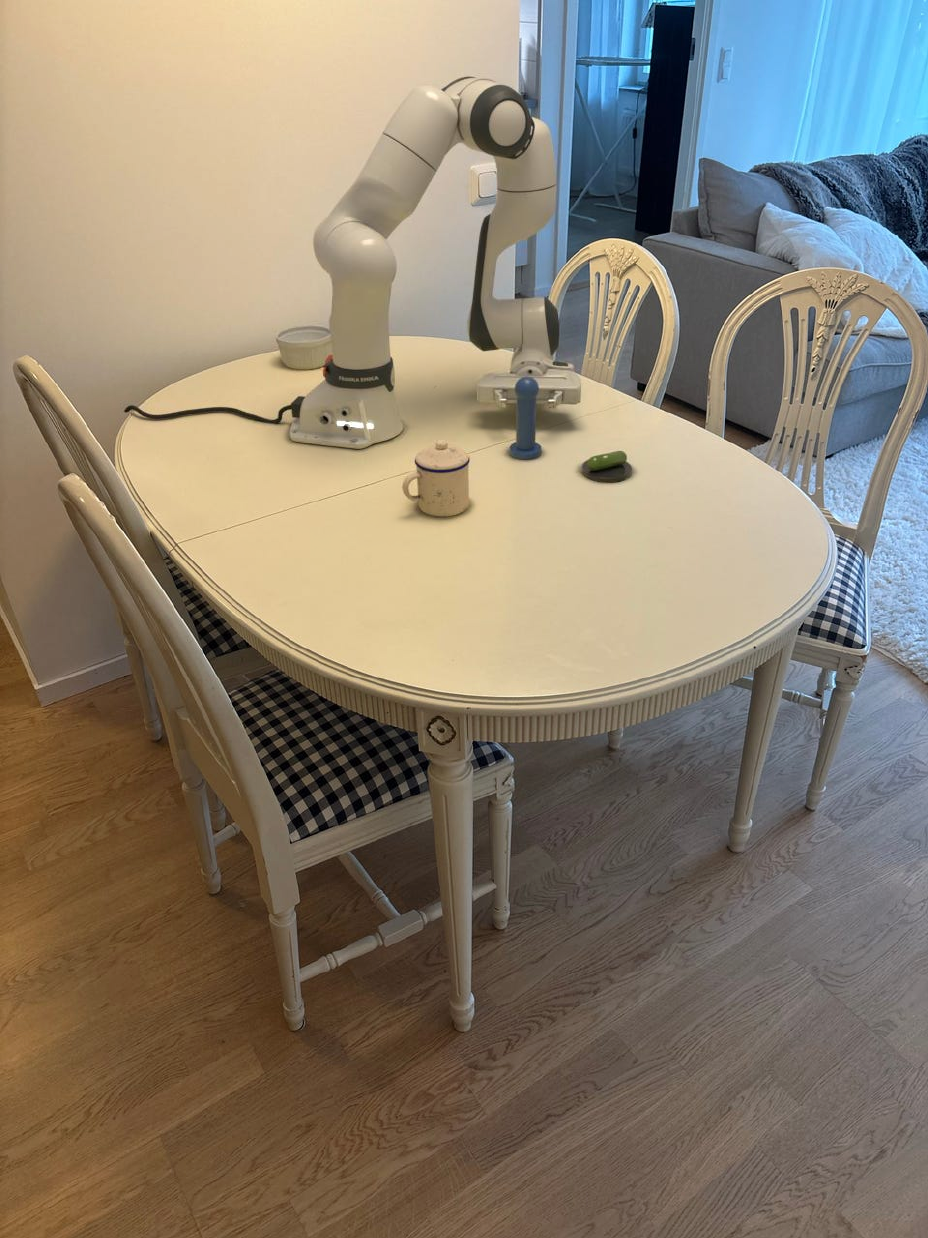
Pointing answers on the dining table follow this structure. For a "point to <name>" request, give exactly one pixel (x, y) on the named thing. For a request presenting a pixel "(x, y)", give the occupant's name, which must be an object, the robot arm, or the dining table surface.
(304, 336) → the ramekin
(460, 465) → the teacup with lid
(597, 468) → the pickle
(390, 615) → the dining table surface
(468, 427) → the dining table surface
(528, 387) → the blue handle
